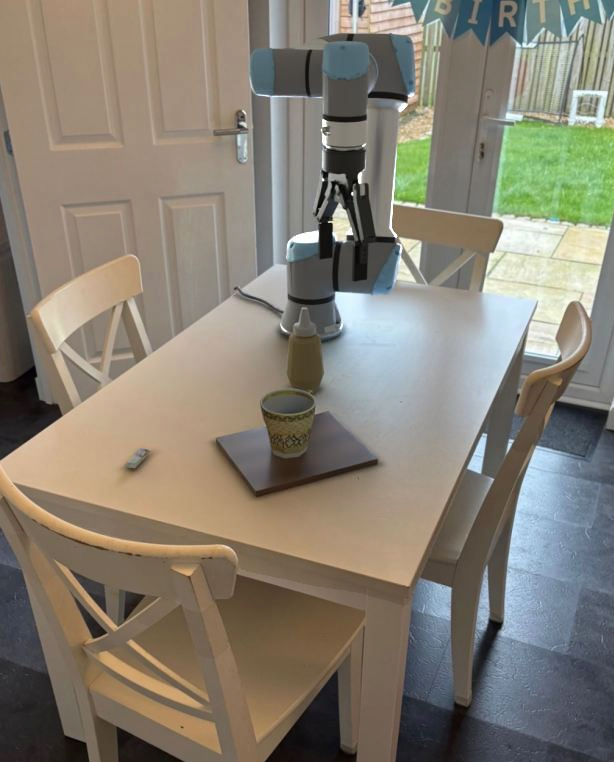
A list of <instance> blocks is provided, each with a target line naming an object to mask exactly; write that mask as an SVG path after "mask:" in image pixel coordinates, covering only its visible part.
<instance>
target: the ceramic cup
mask: <svg viewBox="0 0 614 762" xmlns="http://www.w3.org/2000/svg"><path fill="white" fill-rule="evenodd" d="M259 406H260V411H261V415H262V418H263V421H264V424H265V426H266V427H267V432H268V436H269V441H270V445H271V449H272V452H273V454H274V455H276V456H279V457H282V458H294V457H299V456H301V455H302V454H303V453H304V452H306V450H307V448H308V444H309V438H310V433H311V427H312V423H313V419H314V414H316V408H317V400H316V397H315V396H314V393H313V391H312V390H310V389H308V390H305V391H303V390H298V389H292V388H279V389H276V390H272V391H269V392H267V393H265V394H264V395H262V397H261V398H260V401H259Z"/></svg>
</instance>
